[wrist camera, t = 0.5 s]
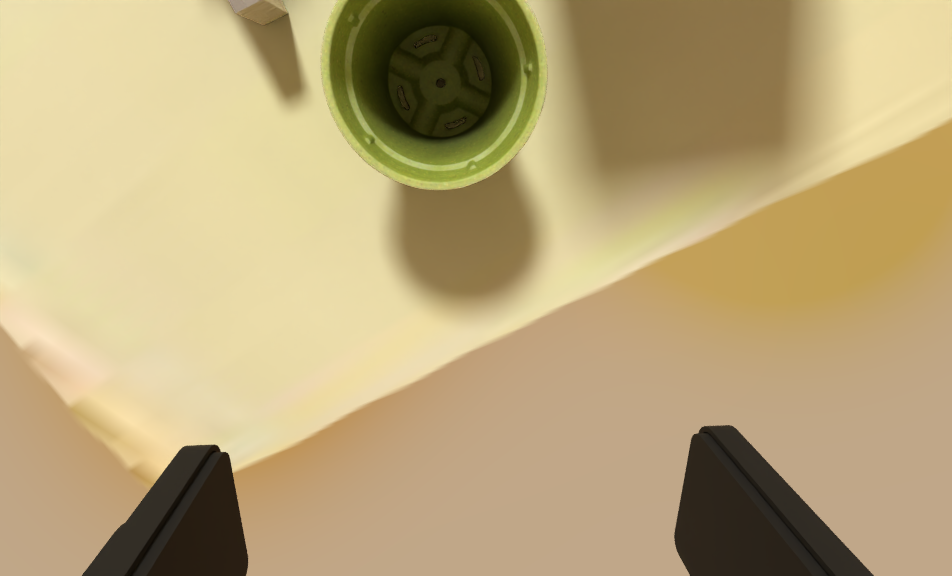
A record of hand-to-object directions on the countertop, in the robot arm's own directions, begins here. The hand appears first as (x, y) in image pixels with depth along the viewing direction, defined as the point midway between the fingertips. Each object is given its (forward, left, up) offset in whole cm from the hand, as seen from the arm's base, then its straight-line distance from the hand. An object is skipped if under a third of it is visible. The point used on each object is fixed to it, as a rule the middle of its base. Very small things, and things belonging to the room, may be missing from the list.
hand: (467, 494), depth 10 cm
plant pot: (-3, -8, -24) cm, 25 cm away
